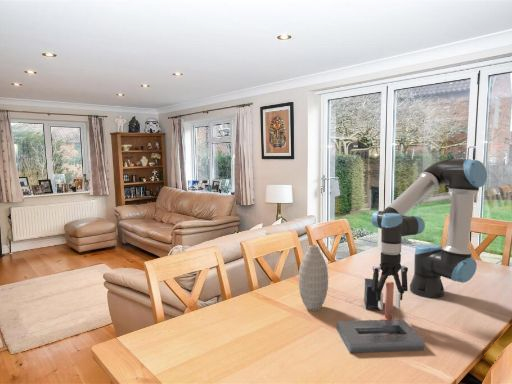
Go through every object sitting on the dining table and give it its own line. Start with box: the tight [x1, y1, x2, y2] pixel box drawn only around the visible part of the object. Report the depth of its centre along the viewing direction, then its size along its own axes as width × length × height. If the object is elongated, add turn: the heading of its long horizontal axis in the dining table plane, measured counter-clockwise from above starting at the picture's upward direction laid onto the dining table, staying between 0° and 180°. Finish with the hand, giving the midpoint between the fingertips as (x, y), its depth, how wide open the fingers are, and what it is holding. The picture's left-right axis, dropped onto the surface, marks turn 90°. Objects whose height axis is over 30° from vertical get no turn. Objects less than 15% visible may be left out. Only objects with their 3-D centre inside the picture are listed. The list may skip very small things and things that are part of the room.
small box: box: [363, 278, 381, 311], centre depth 158 cm, size 11×6×10 cm, turn 168°
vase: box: [298, 244, 329, 312], centre depth 155 cm, size 13×13×28 cm
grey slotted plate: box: [336, 318, 425, 354], centre depth 129 cm, size 26×16×4 cm, turn 93°
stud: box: [381, 280, 396, 320], centre depth 143 cm, size 5×5×16 cm
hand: (388, 307), depth 143 cm, fingers open, 6 cm apart
